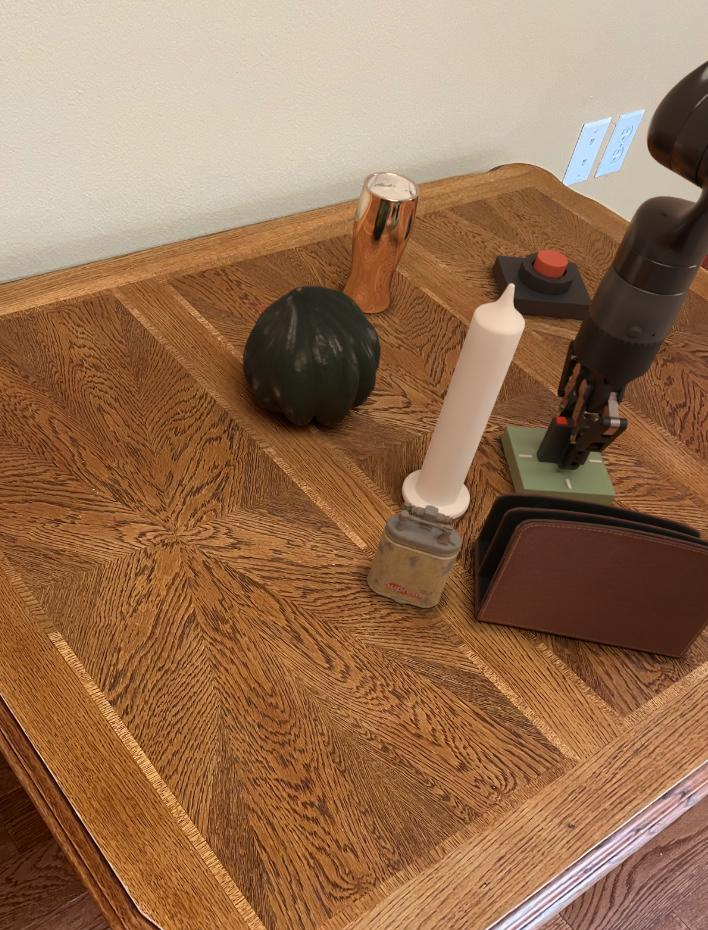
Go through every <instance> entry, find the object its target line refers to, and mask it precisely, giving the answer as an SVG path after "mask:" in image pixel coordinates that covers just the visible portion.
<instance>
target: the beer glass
mask: <svg viewBox="0 0 708 930" xmlns="http://www.w3.org/2000/svg"><path fill="white" fill-rule="evenodd" d="M420 193H421V190H420V187H419V185H418V184H417V183H416V182H415V181H414V180H412V179H411V178H409V177H407V176H406V175H402V174H399V173H397V172H396V173H395V172H389V171H379V172H373V173H370V174H368V175H366V176H365V178H364V179H363V183H362V188H361V191H360V195H359V198H358V201H357V205H356V209H355V213H354V218H353V224H352V234H351V235H352V237H351V265H350V271H349V275H348V278H347V280H346V283H345V286H344V288H343V290H342V292H343V293H344V294H346V295H347V296H349V297H351V298H352V299H353V300H354V301H355V302H356V303H357V305H358V306H359V307H360V308H361V310H362V311H363V313H364V314H378V313H381V312H385V310H387V309H388V307H389V305H390V302H391V301H390V300H391V287H392V282H393V278H394V275H395V272H396V270H397V267H398V265H399V263H400V261H401V260H402V256H403V254H404V252H405V249H406V248H407V245H408V243H409V239H410V237H411V234H412V231H413V228H414V222H415V218H416V214H417V207H418V201H419V196H420Z"/></svg>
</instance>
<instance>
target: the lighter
mask: <svg viewBox="0 0 708 930" xmlns="http://www.w3.org/2000/svg"><path fill="white" fill-rule="evenodd" d="M453 520H454V519H453V517H451V518H450V516H448V515H447V516H446V515H445V514H442V513H438V508H436V507H434V506H431V505H427V506H426V507H425V508H422V507H416V506H415V505H413V506H412V505H411V503H409V502H405V501H403V502H402V504H401V507H400V512H399V513H395V514H392V515H390V516H389V517H388V518H387V520H386V523H385V525H384V527H383V530H382V533H381V536H380V540H379V543H378V545H377V548H376V552H375V555H374V558H373V561H372V564H371V566H370V567H371V568H370V570H369V572H368V574H367V578H366V582H367V585H368V587H369V588H370V590H372V591H373V593H375V594H377V595H379V596H383V597H386V598H389V599H392V600H393V601H394V602H395V603H396V604H399V605H406V604H408V605H411V606H415V607H418V608H421V609H429V608H433V607H435V606H436V605H438V604H439V603H440V600H441V597H442V593H443V591H444V589H445V587H446V584H447V581H448V579H449V577H450V574H451V572H452V569H453V567H454V565H455V562H456V560H457V559H458V556H459V554H460V548H461V546H462V544H463V543H462V542H463V540H462V537H461V535H460V534H459V532H458V531H457V530H456V529H454V528H453V526H451V525H452V522H453Z"/></svg>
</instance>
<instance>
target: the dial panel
mask: <svg viewBox="0 0 708 930" xmlns="http://www.w3.org/2000/svg"><path fill="white" fill-rule="evenodd" d="M547 429H548V428H546V427H545V428H543V427H530V426H518V425H516V426H515V425H505V428H504V430H503V433H502V435H501V438H500V442H501V446H502V449H503V453H504V456H505V460H506V463H507V467H508V471H509V474H510V478H511V482H512V485H513V489H514V493H523V494H537V495H547V496H555V497H563V498H570V499H576V500H583V501H588V502H594V503H600V504H605V505H610V506H612V503H613V502H614V500H615V498H616V496H617V493H616V492H615V491H616V490H615V489H614V485H613V483H612V481H611V478H610V475H609V471H608V470H607V467H606V464H605V462H604V459H603V456H602V454H601V453H602V452H601V453H600V452H590V454H589V456H588V458H587V460H586V462H585V464H584V465H580V466H579V468H578V469H576V470H565V469H559V467H558V464H557V463H550V462H539V459H538V456H537V451H538V449H539V447H540V444H541V442H542V440H543V438H544V436H545V434H546V431H547Z"/></svg>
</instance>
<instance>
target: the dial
mask: <svg viewBox="0 0 708 930" xmlns="http://www.w3.org/2000/svg"><path fill="white" fill-rule="evenodd" d="M574 423H575V421H574V419H570V418H565V417H559V415H558V416H557V415H556V416H553V417H552V418H551V421H550V423H549V424H548V426H547V428H546V429H547V431H546V434H545V436H544V438H543V440H542V442H541V444H540V447H539V449H538V451H537V456H538V459H539V462H550V463H557V461H558V459H559V457H560V455H561V453H562V451H563V448H564V446H565V444H566V442H567V440H568V438H570V434H571V431H572V429H573V426H574ZM590 427H591V426H587V425H586V426H584V427H583V429H582V432H583V433H585V432H586V431H587V430H588V429H589V428H590ZM589 454H590V452H587V453H586V454H585V456H584V458H583V460H582V462H581V464H580V465H584V464H585V462H586V460H587V458H588V456H589Z"/></svg>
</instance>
